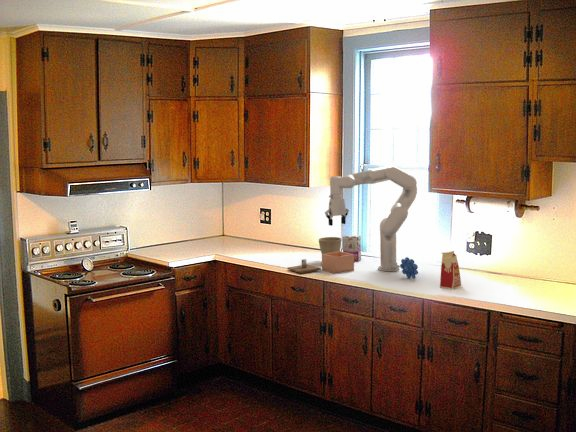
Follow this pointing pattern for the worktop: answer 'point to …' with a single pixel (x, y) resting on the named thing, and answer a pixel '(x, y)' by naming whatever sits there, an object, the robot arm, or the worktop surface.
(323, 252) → the plant pot
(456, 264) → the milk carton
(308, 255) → the worktop surface
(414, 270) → the grapes
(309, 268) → the lid
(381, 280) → the worktop surface
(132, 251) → the worktop surface
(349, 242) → the candy bar box
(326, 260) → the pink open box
